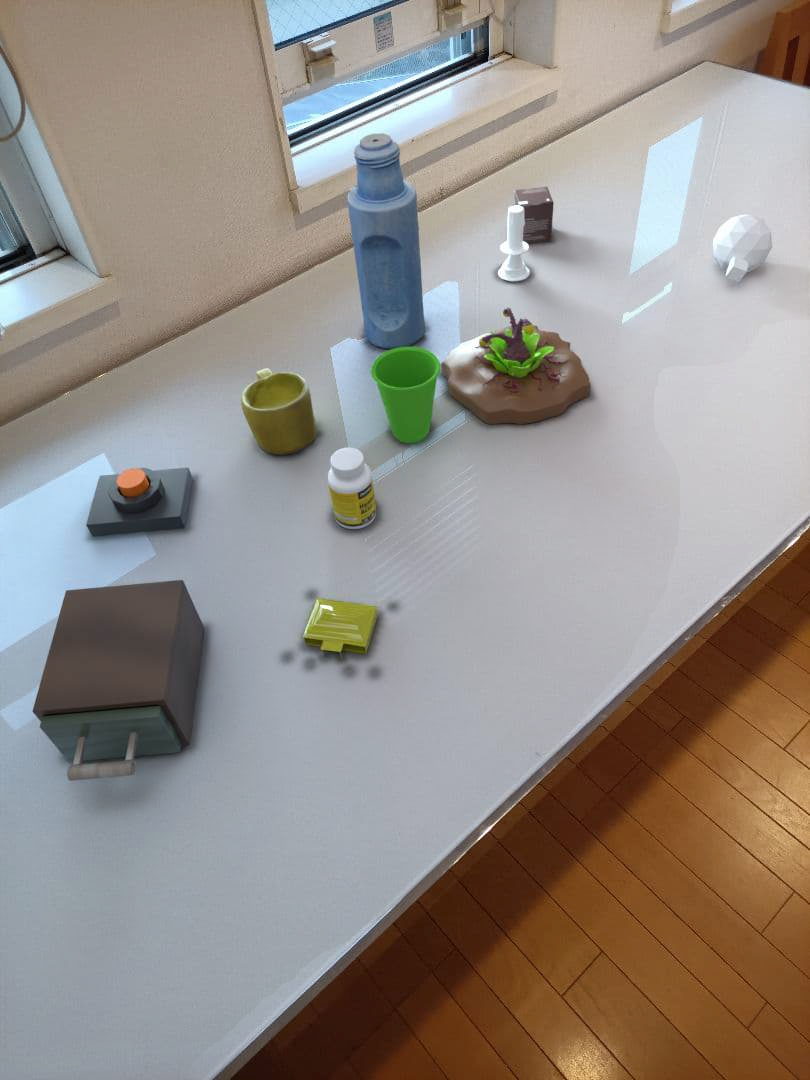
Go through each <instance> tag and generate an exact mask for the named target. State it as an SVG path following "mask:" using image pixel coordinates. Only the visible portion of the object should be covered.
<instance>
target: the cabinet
mask: <svg viewBox="0 0 810 1080" xmlns="http://www.w3.org/2000/svg"><path fill="white" fill-rule="evenodd" d="M205 630H206V629H205V626H204V625H203V622H202V620H201V617H200V615H199V612H198V610H197V608H196V606H195V603H194V602H193V599H192V597H191V595H190V592H189V590H188V588H187V586H186V584H185V581H184V579H175V580H163V581H153V582H140V583H131V584H121V585H110V586H108V585H107V586H98V587H88V588H76V589H66V590H65V593H64V596H63V599H62V604H61V605H60V611H59V613H58V617H57V620H56V625H55V628H54V632H53V635H52V639H51V643H50V646H49V650H48V654H47V657H46V660H45V664H44V668H43V672H42V675H41V680H40V683H39V686H38V690H37V693H36V697H35V700H34V704H33V708H32V713H33V715H35V717H36V718H37V719H38V720H39V722H41V719H42V716H50V715H61V713H69V712H80V711H91V710H102V709H114V708H125V707H136V706H147V705H159V706H161V708H162V709H163V711H164V713H165V714H166V716H167V718H168V720H169V721H170V723H171V725H172V726H173V728H174V730H175V731H176V733H177V735H178V737H179V738H180V740H181V747H182V746H190V745H191V738H192V730H193V723H194V715H195V708H196V699H197V691H198V683H199V676H200V669H201V662H202V653H203V644H204V638H205V637H204V636H205Z"/></svg>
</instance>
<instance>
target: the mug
mask: <svg viewBox="0 0 810 1080" xmlns="http://www.w3.org/2000/svg"><path fill="white" fill-rule="evenodd" d="M256 376H257V379H256V380H254V381H253V382H251V383H250V384H249V385H247V386H246V387H245V388H244V389H243V390H242V393H241V397H240V404H241V409H242V413H243V415H244V417H245V420H246V423H247V424H248V426H249V429H250V431H251V433H252V435H253V437H254V439H255V441H256V443H257V444H258V446H259V447H260V449H262V450H263V451H265V452H267V453H268V454H271V455H283V456H284V455H291V454H293V453H297V452H299V451H301V450H302V449H303V448H305V447H308V446H309V445H310V444H311V443H312V442H313V441H314V440H315V439H316V437H317V432H318V426H317V425H318V424H317V421H316V418H315V414H314V409H313V402H312V396H311V395H312V394H311V390H310V386H309V384H308V382H307V381H306V379H305V378H304V377H303V376H301V375H299V374H297V373H294V372H284V371H283V372H282V371H281V372H277V373H273V372H272V371H271V370H270V368H267V367H266V368H261V369H260V370H257V371H256Z"/></svg>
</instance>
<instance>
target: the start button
mask: <svg viewBox="0 0 810 1080" xmlns="http://www.w3.org/2000/svg"><path fill="white" fill-rule="evenodd" d="M137 468H138V467H137ZM137 468H136V467H132V468H128V469H126V470H124V471H122V472H121V473H119V474H120V475H119V476H118V478H117V484H118V487H119V489H120V491H121V493H122V494H123V495H124V496H126V497H137V496H139V495H141V494H143V493H144V492H145V491H146V490H147V489H148V488H149V482H148V480H147V477H146V475H145V473H144V471H143V470H141V469H137Z"/></svg>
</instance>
